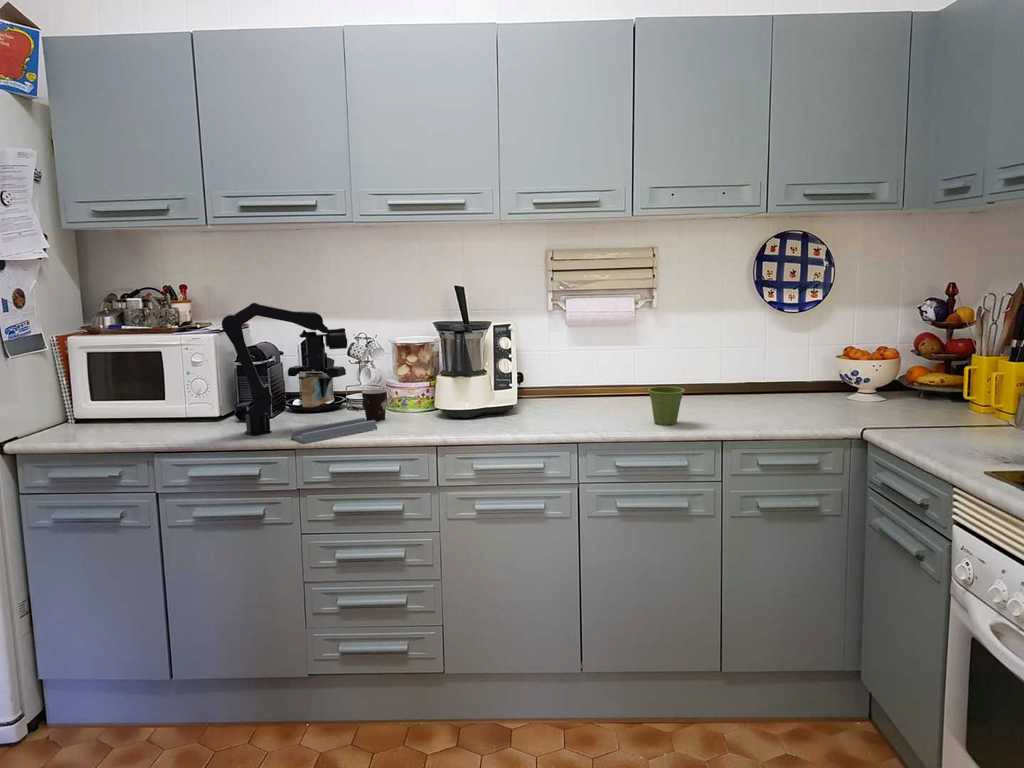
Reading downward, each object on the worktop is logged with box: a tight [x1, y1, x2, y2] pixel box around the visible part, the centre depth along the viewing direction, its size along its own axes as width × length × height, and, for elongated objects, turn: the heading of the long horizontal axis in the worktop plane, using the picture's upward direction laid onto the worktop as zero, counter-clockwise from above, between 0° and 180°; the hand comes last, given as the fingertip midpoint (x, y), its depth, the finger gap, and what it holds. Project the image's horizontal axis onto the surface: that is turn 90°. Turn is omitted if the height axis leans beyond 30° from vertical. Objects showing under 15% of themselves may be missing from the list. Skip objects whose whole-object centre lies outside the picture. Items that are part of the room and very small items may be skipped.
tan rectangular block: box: [300, 374, 335, 408], centre depth 256 cm, size 14×4×9 cm, turn 164°
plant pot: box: [647, 386, 686, 426], centre depth 252 cm, size 12×12×11 cm
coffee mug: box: [361, 388, 388, 422], centre depth 267 cm, size 12×9×10 cm
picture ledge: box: [290, 417, 378, 444], centre depth 248 cm, size 26×9×3 cm, turn 134°
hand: (318, 397), depth 257 cm, fingers closed on tan rectangular block, 4 cm apart
